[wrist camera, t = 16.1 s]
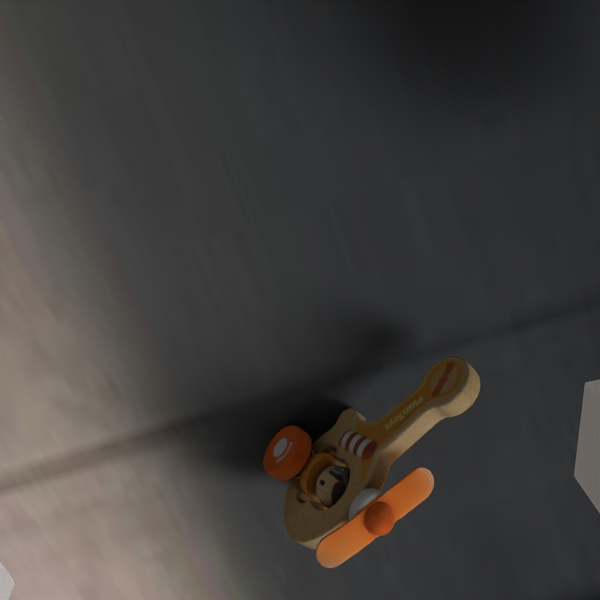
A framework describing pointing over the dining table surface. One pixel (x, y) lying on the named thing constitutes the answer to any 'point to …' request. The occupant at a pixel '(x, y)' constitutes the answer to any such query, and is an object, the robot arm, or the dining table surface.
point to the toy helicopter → (363, 466)
